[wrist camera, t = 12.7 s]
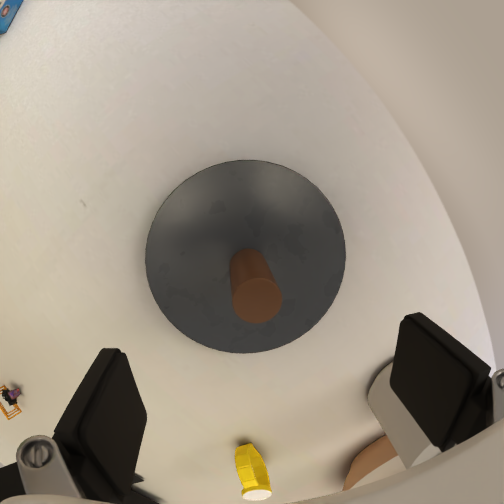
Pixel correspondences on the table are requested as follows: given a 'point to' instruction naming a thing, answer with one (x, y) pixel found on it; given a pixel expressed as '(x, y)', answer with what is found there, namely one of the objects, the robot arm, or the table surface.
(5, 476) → the robot arm
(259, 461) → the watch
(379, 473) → the bowl
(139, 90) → the table surface
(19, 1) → the ink box
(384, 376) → the can
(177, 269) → the lid
